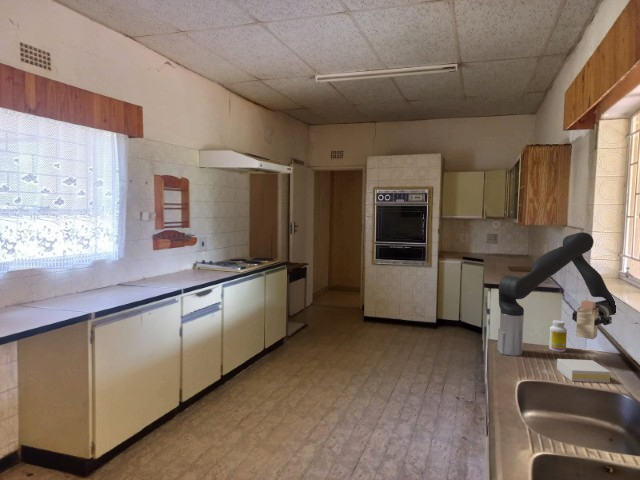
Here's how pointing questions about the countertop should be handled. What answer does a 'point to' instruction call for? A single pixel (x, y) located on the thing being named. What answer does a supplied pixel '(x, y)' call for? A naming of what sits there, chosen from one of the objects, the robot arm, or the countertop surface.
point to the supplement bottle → (557, 336)
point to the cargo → (588, 305)
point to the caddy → (586, 323)
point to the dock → (583, 370)
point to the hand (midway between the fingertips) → (585, 321)
